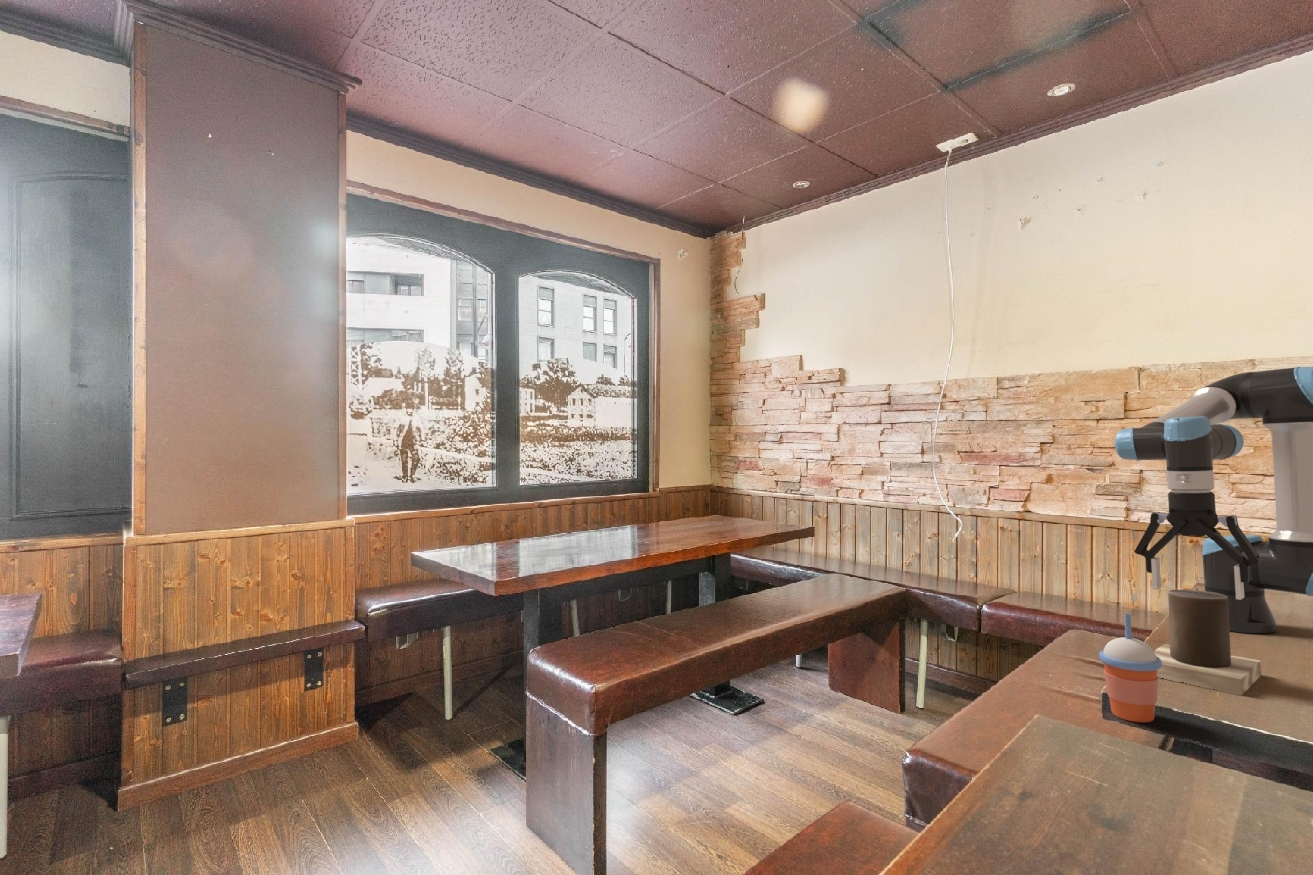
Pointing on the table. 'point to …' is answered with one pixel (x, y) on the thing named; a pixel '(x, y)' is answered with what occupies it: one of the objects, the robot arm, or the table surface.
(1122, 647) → the cup with straw
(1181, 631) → the pillar candle
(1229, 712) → the table surface
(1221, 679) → the wooden block
